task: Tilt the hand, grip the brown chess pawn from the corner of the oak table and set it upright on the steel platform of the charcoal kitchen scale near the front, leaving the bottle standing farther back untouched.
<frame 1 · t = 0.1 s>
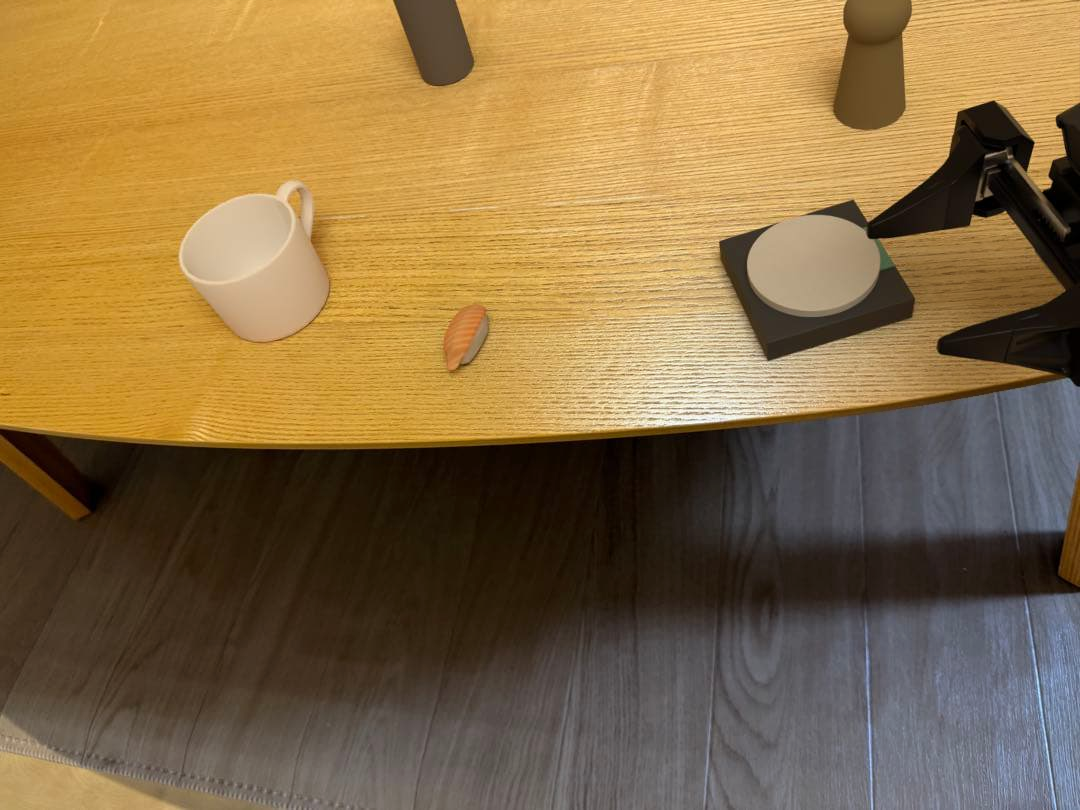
hand: (901, 286, 53), 15 cm above the table, tool horizontal, fingers open, 9 cm apart
bottle: (448, 69, 99), on the table
brown chess pawn: (869, 108, 83), on the table
scale: (811, 287, 73), on the table
mug: (289, 290, 85), on the table
sushi: (470, 348, 77), on the table
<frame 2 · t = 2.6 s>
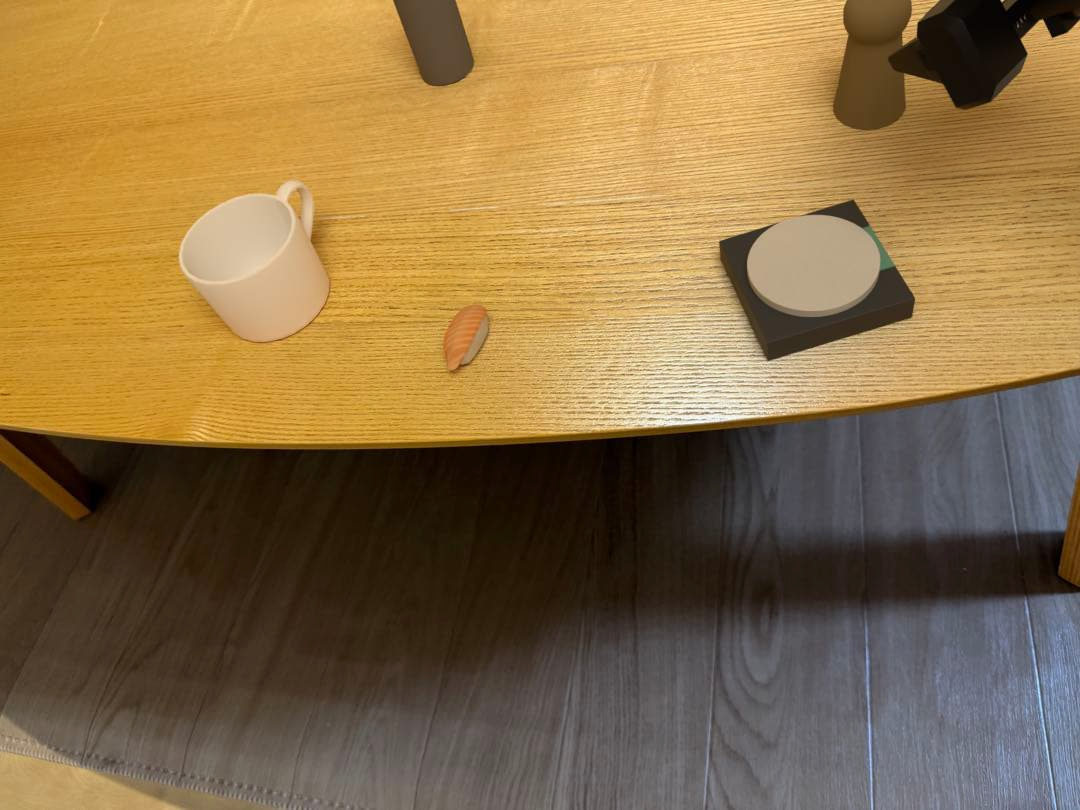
hand: (930, 26, 66), 14 cm above the table, tool tilted 50°, fingers open, 9 cm apart
nothing on the table moved.
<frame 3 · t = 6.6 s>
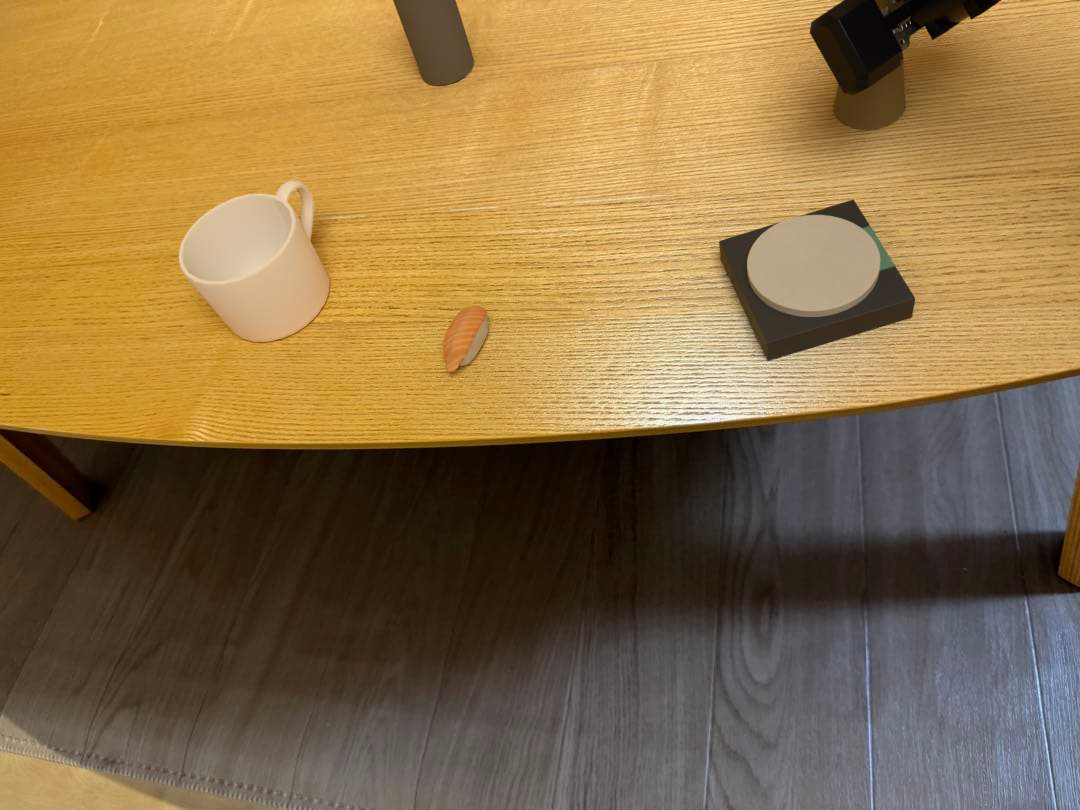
hand: (862, 34, 78), 7 cm above the table, tool tilted 45°, fingers closed on brown chess pawn, 5 cm apart
brown chess pawn: (868, 108, 83), on the table, touching gripper
everything else where it was.
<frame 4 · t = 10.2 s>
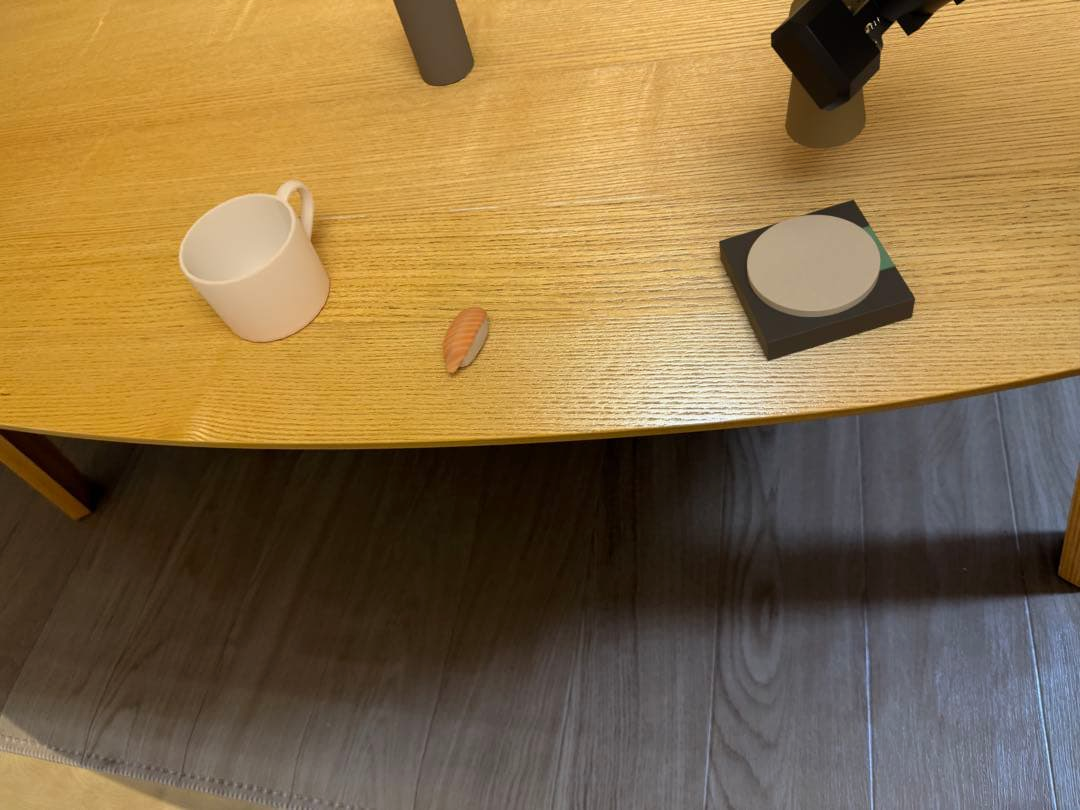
hand: (810, 44, 69), 13 cm above the table, tool tilted 45°, fingers closed on brown chess pawn, 5 cm apart
brown chess pawn: (825, 124, 73), point 6 cm above the table, touching gripper
everything else where it was.
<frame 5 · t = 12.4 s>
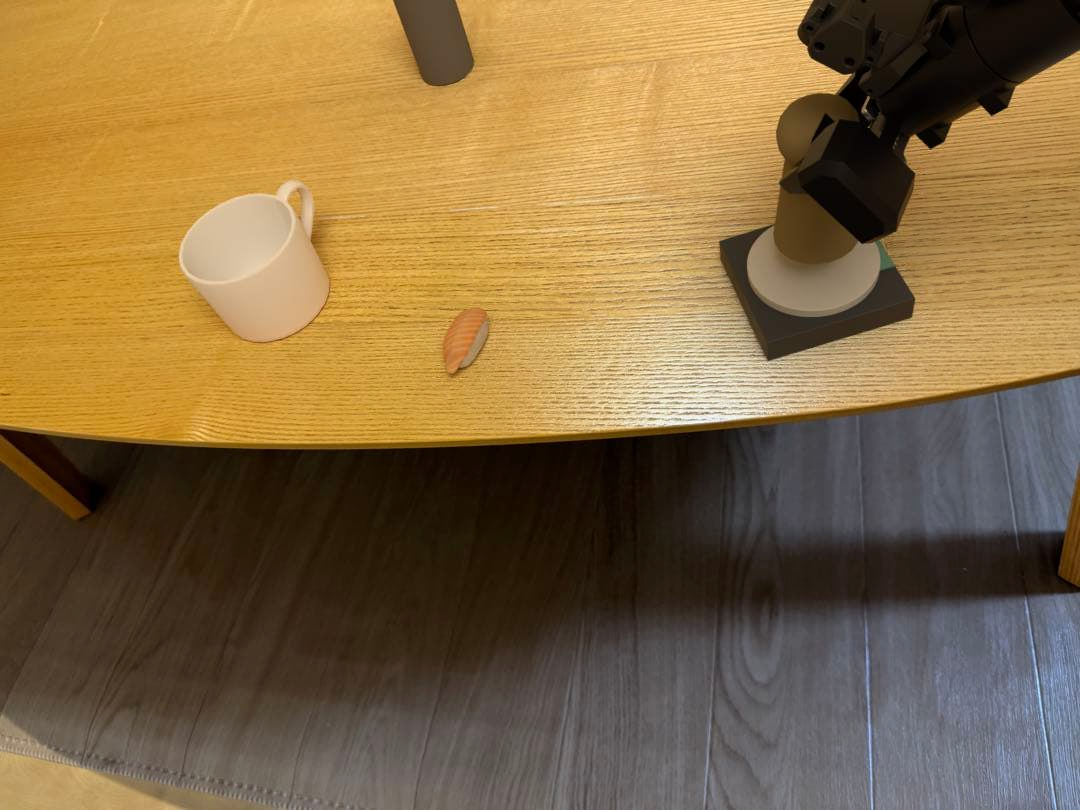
hand: (797, 160, 63), 13 cm above the table, tool tilted 45°, fingers closed on brown chess pawn, 5 cm apart
brown chess pawn: (816, 234, 68), point 6 cm above the table, touching gripper
everything else where it was.
when the fingers open (10 cm above the table, at t = 13.9 s): brown chess pawn stays where it is, resting on scale.
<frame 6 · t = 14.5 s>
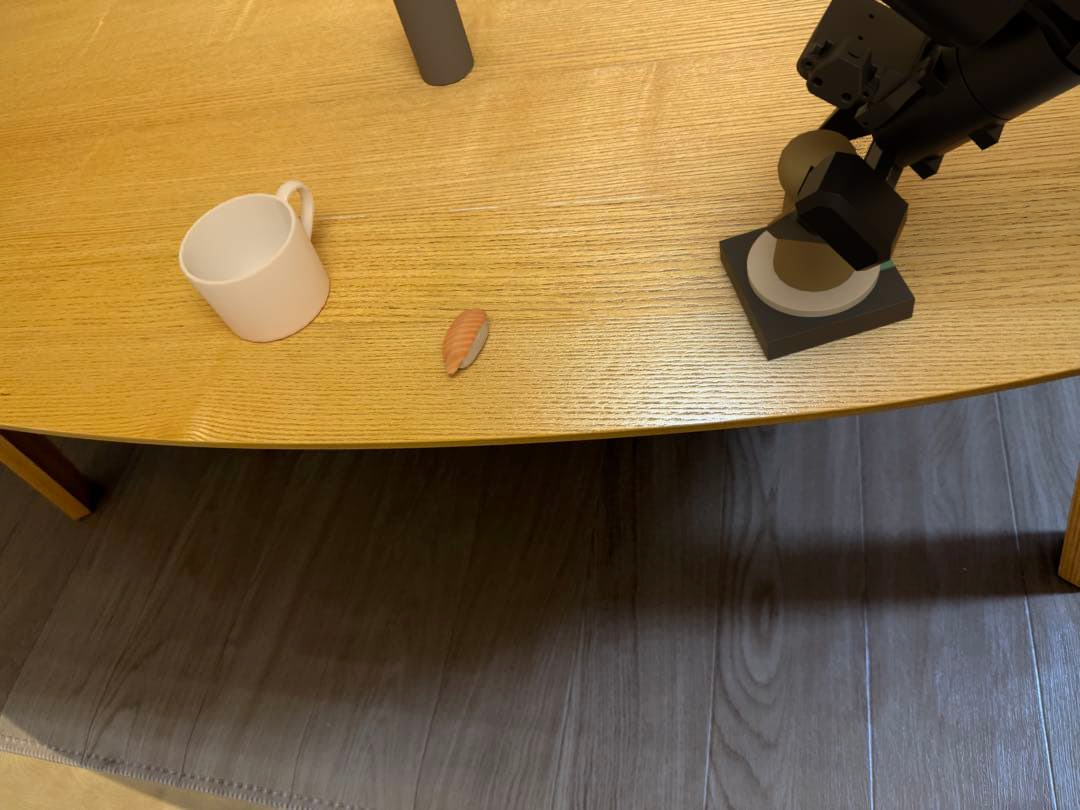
hand: (794, 185, 65), 10 cm above the table, tool tilted 45°, fingers open, 9 cm apart
brown chess pawn: (814, 262, 70), point 3 cm above the table, touching scale
everything else where it was.
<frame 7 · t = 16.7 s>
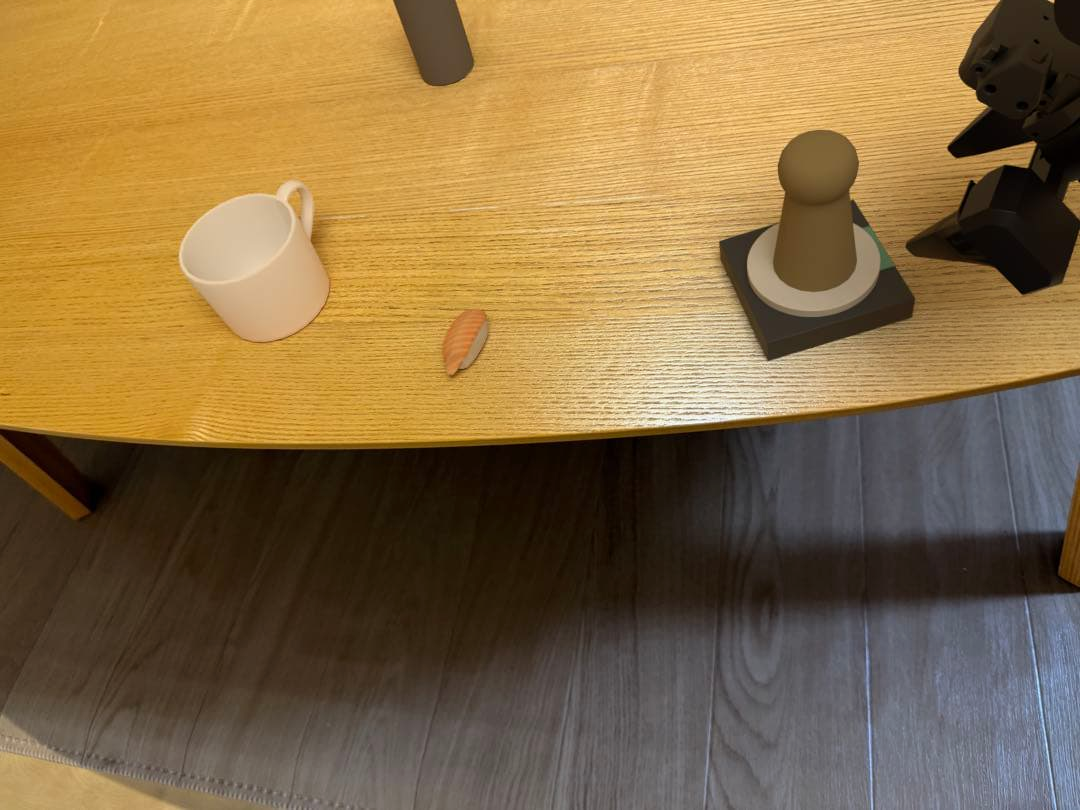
hand: (931, 199, 61), 11 cm above the table, tool tilted 45°, fingers open, 9 cm apart
nothing on the table moved.
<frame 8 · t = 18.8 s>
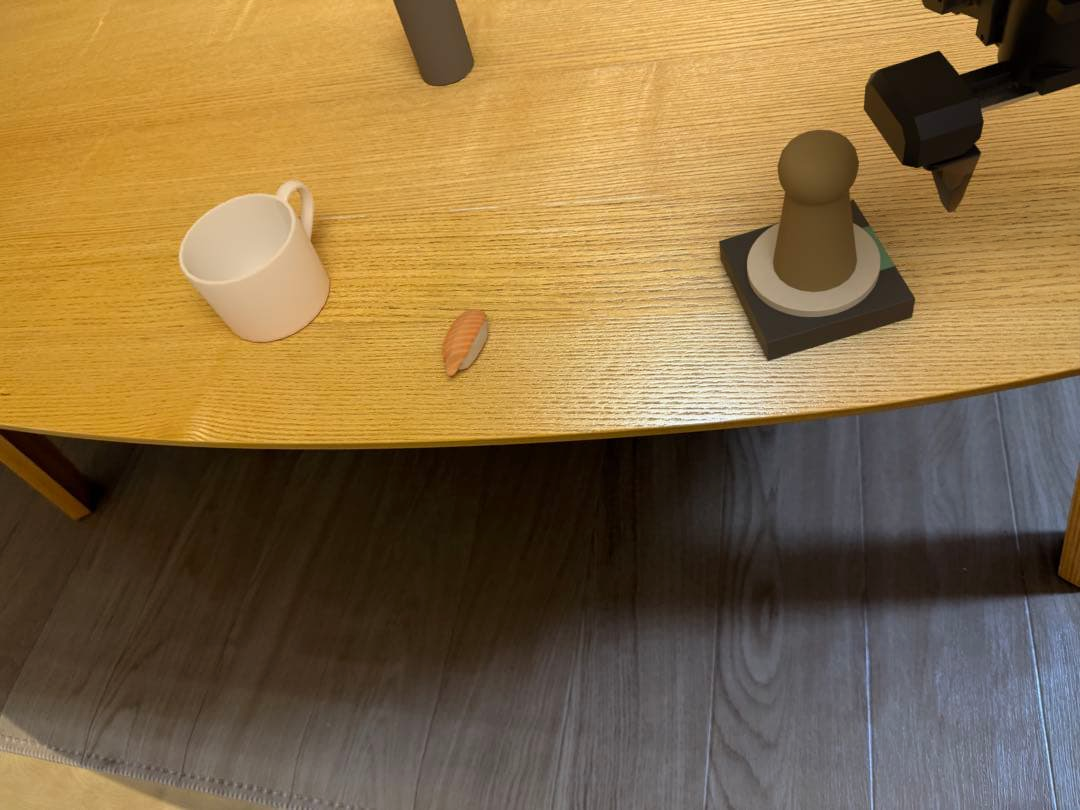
hand: (1021, 184, 57), 13 cm above the table, tool pointing down, fingers open, 9 cm apart
nothing on the table moved.
at the end: brown chess pawn inside the target area on the scale (0.1 cm from its centre), point 2.8 cm above the scale's base; brown chess pawn tilted 0°; bottle moved 0.2 cm from its start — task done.
